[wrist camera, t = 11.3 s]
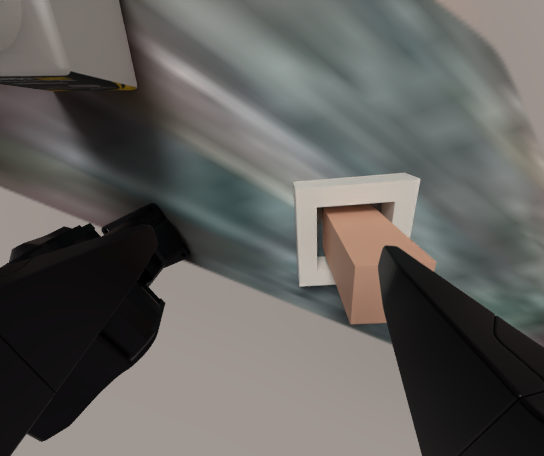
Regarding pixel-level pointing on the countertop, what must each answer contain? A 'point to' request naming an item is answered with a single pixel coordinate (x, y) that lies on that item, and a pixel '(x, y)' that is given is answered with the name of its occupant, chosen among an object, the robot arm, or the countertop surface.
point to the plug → (362, 257)
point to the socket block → (347, 191)
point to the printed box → (64, 45)
